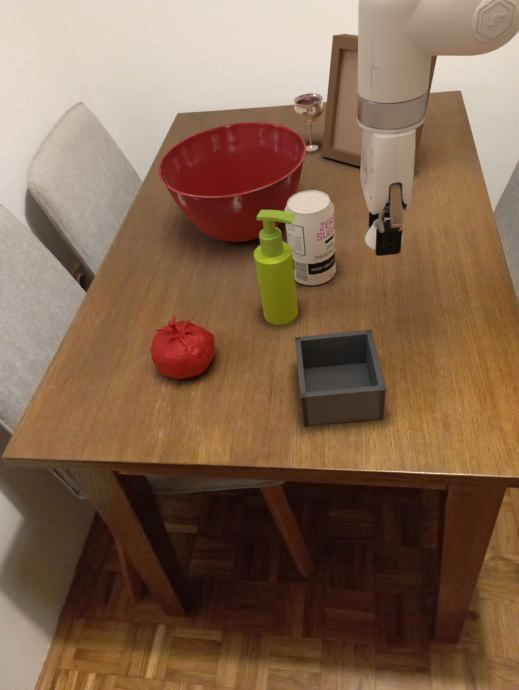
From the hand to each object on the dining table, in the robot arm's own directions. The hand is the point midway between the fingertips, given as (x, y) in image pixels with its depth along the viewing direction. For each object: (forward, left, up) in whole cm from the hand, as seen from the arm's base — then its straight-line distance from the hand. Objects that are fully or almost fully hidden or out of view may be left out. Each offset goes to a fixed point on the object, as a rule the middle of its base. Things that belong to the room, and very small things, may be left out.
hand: (384, 239), depth 72 cm
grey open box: (+2, +12, -14) cm, 19 cm away
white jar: (0, 0, -1) cm, 1 cm away
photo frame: (-10, -56, -18) cm, 60 cm away
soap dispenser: (+15, -6, -18) cm, 24 cm away
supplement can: (+9, -16, -18) cm, 26 cm away
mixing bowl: (+22, -35, -18) cm, 45 cm away
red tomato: (+31, +3, -18) cm, 36 cm away
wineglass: (+5, -64, -18) cm, 67 cm away
